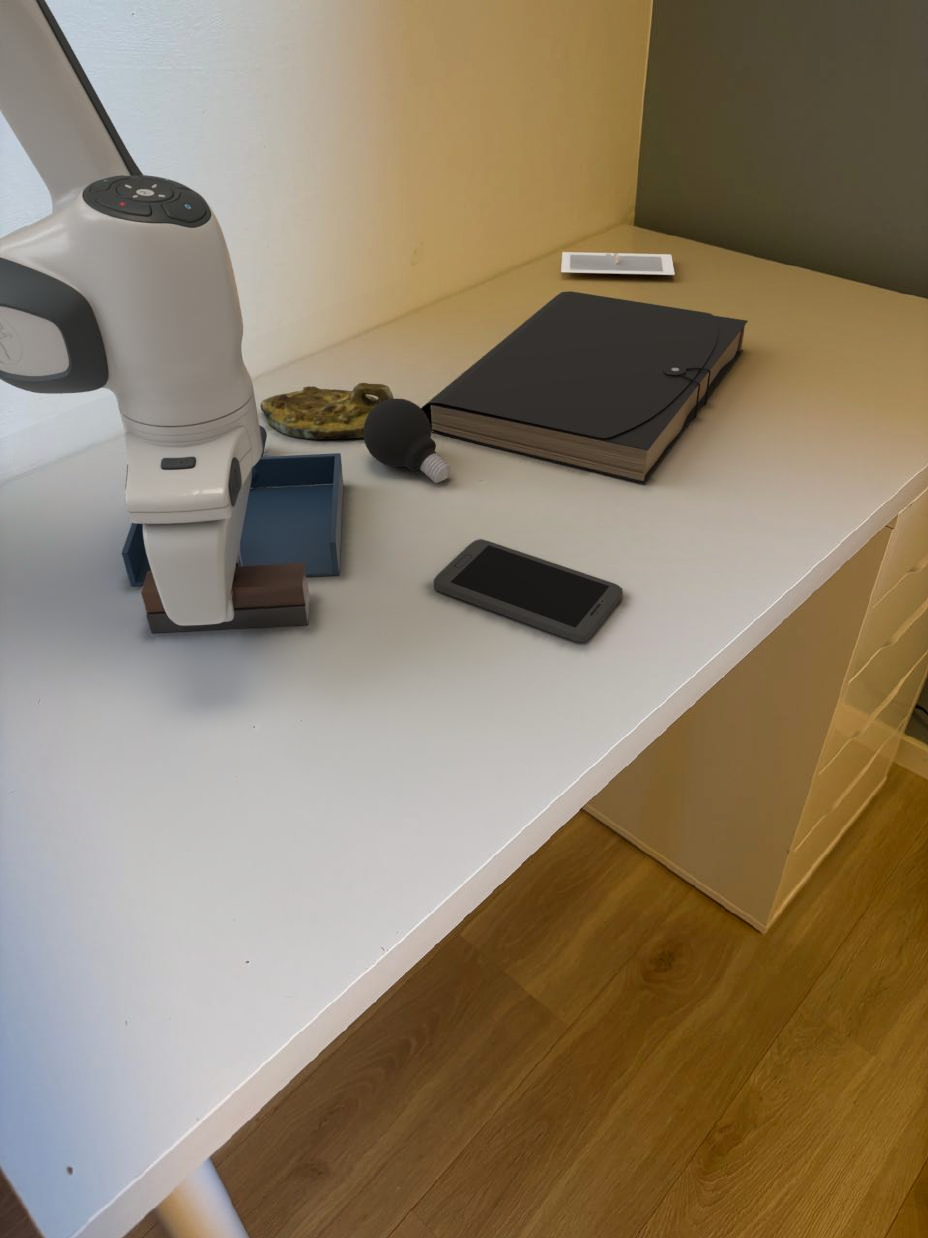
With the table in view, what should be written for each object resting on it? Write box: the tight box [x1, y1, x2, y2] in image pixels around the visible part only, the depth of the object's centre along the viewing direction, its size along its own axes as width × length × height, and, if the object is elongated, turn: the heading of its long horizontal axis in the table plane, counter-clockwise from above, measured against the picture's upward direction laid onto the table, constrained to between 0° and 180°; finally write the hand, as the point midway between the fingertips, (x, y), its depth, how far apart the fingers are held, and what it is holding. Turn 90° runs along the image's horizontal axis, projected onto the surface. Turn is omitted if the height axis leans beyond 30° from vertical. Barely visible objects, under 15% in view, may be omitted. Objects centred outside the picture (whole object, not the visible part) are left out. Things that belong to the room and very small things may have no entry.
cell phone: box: [432, 538, 624, 643], centre depth 79 cm, size 7×14×1 cm, turn 58°
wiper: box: [140, 563, 311, 634], centre depth 76 cm, size 3×12×6 cm, turn 94°
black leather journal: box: [420, 290, 749, 484], centre depth 107 cm, size 33×4×24 cm
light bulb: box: [363, 398, 451, 484], centre depth 94 cm, size 6×6×10 cm
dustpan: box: [121, 424, 344, 587], centre depth 89 cm, size 22×17×3 cm
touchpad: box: [560, 251, 676, 276], centre depth 135 cm, size 8×15×2 cm, turn 84°
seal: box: [259, 382, 394, 440], centre depth 102 cm, size 9×5×15 cm
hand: (227, 595), depth 77 cm, fingers open, 4 cm apart
